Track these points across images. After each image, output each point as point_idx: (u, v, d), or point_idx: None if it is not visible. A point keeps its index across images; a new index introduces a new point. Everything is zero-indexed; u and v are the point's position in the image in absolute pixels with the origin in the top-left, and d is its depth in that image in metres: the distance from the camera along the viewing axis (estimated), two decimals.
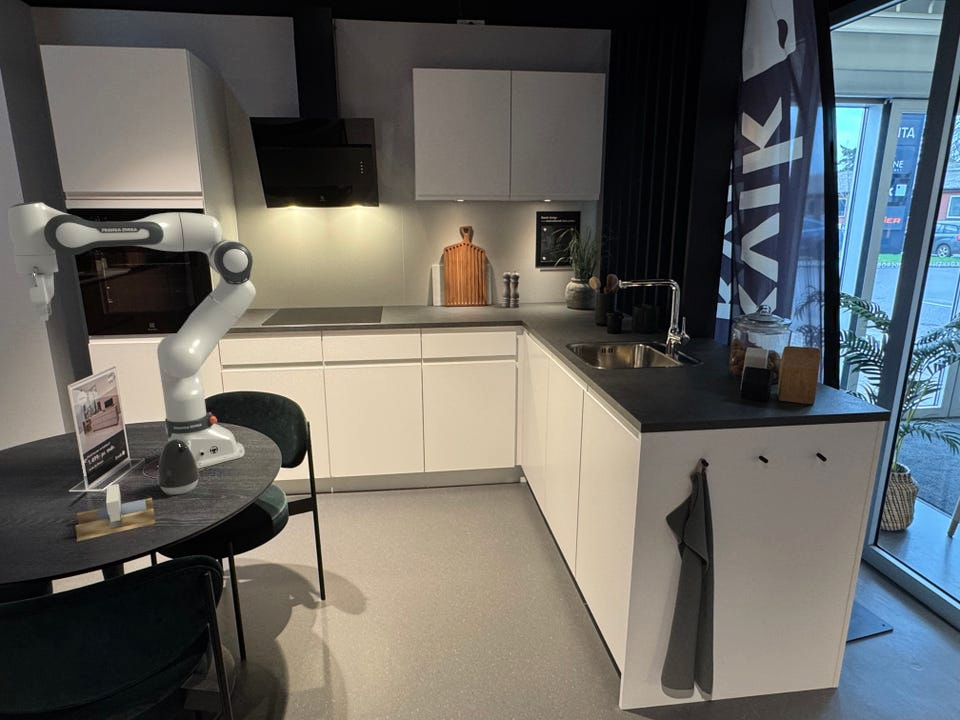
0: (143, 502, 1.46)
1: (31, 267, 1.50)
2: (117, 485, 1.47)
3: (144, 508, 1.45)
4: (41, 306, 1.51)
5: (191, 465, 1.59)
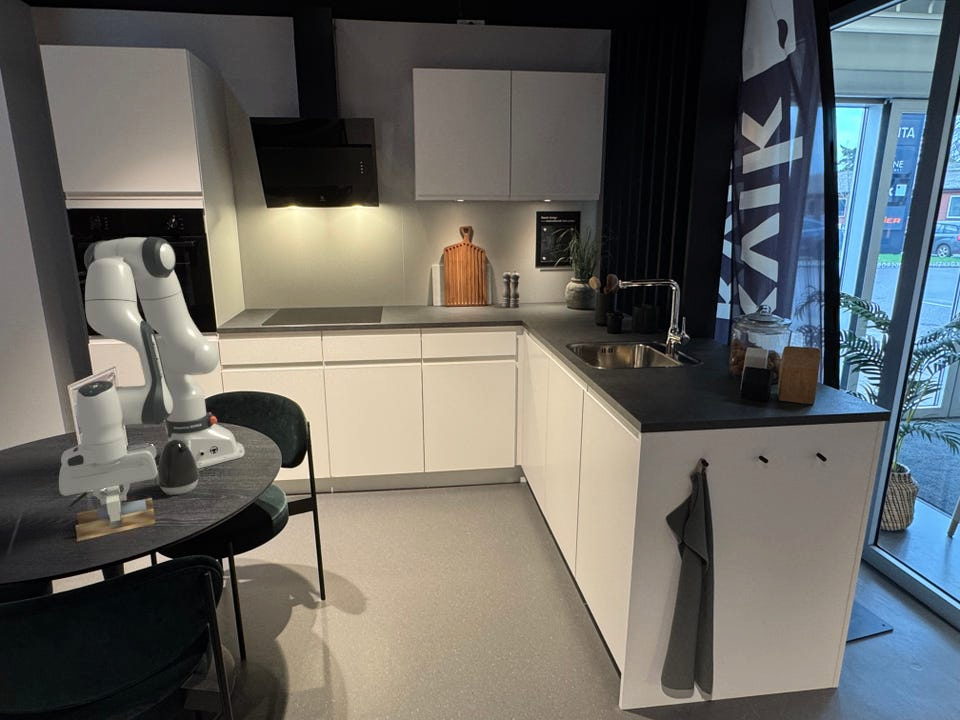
0: (143, 502, 1.46)
1: (126, 447, 1.42)
2: None
3: (144, 508, 1.45)
4: (129, 483, 1.44)
5: (191, 465, 1.59)
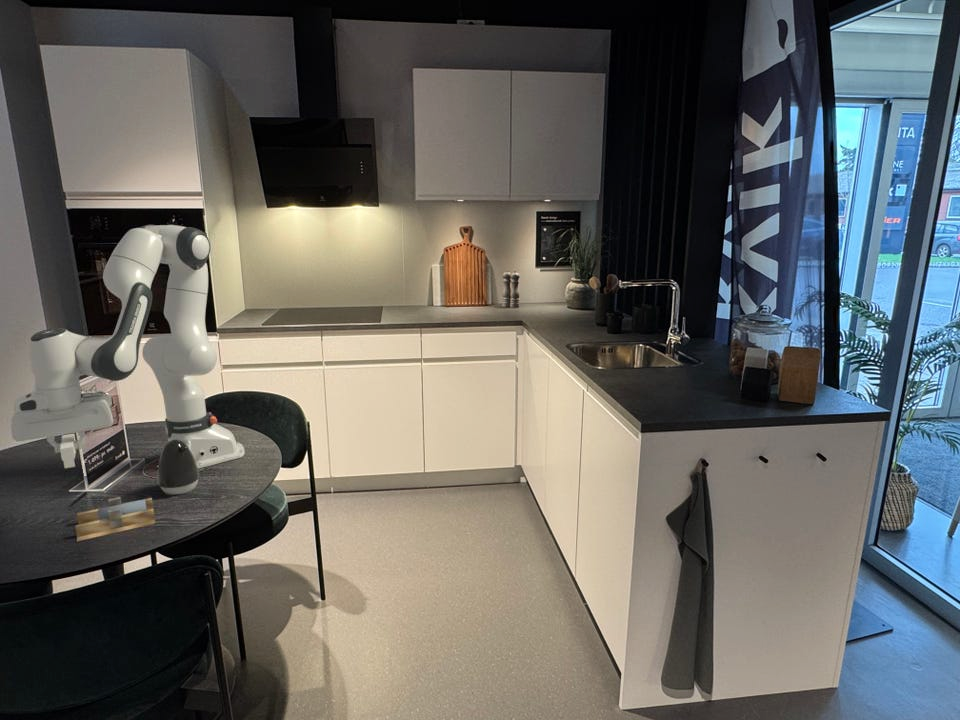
0: (143, 502, 1.46)
1: (80, 394, 1.43)
2: (73, 434, 1.48)
3: (144, 508, 1.45)
4: (84, 432, 1.45)
5: (191, 465, 1.59)
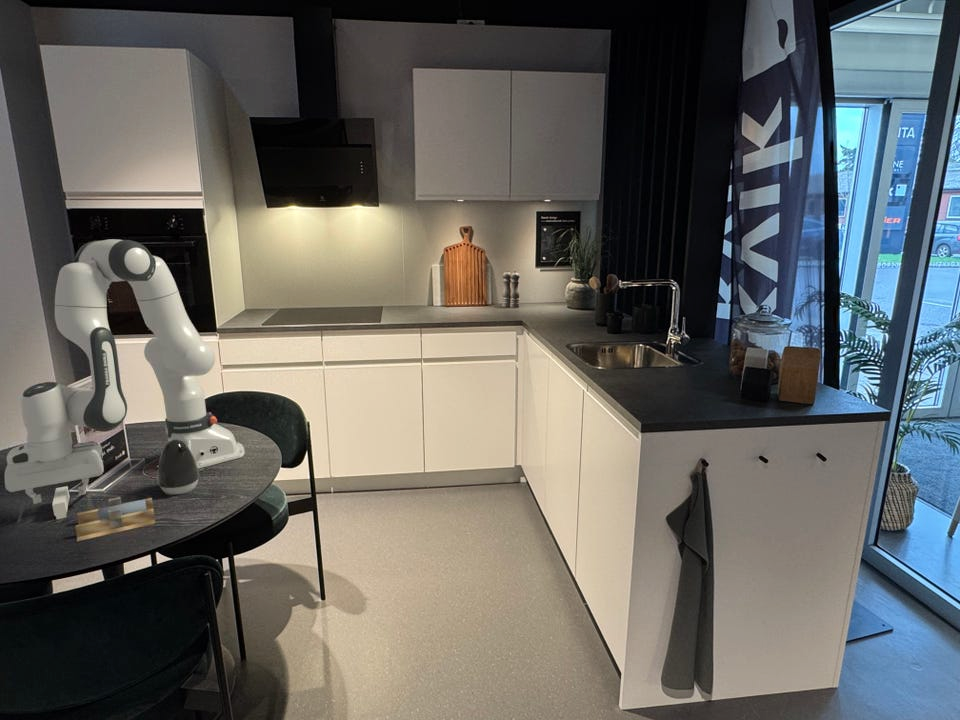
0: (143, 502, 1.46)
1: (71, 445, 1.48)
2: (66, 487, 1.53)
3: (144, 508, 1.45)
4: (88, 478, 1.52)
5: (191, 465, 1.59)
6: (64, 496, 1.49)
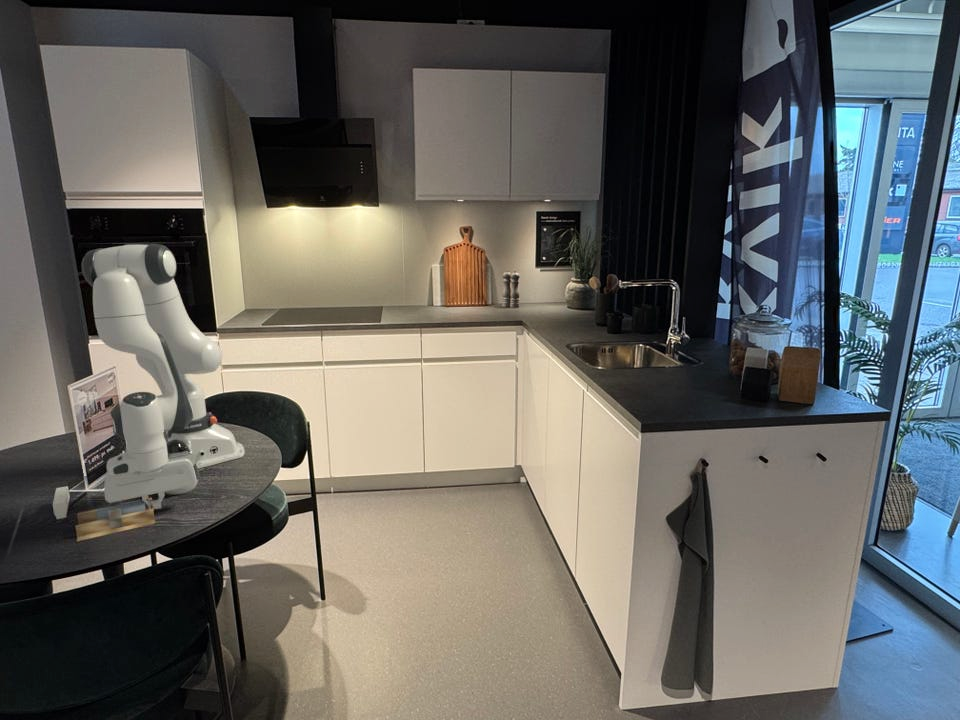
0: (142, 502, 1.46)
1: (167, 455, 1.47)
2: (66, 487, 1.53)
3: (143, 508, 1.45)
4: None
5: None
6: (64, 496, 1.49)
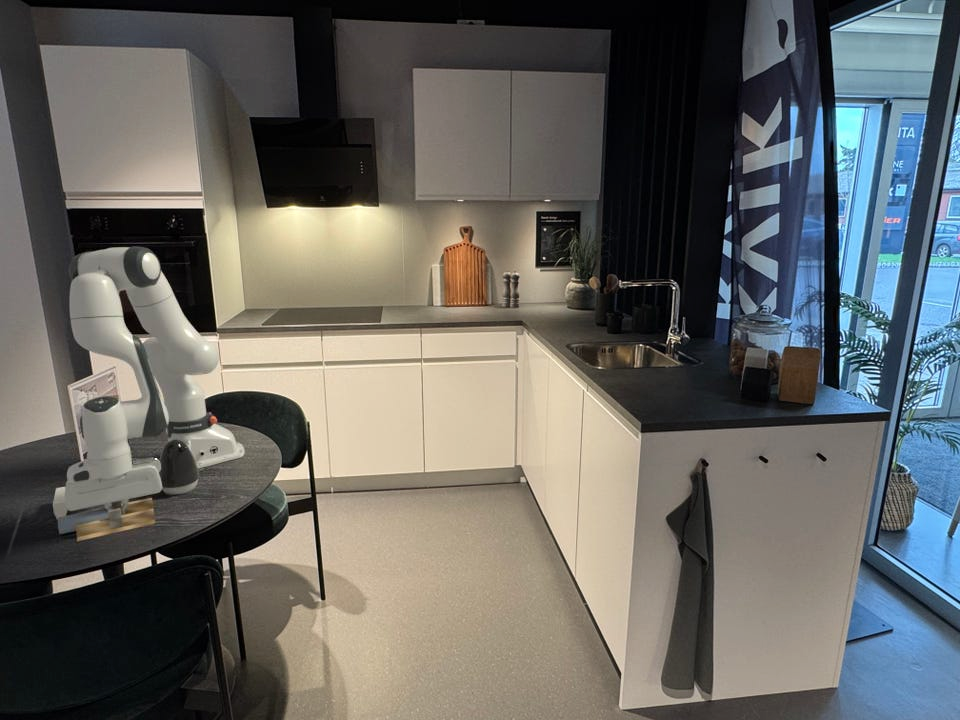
0: (106, 510, 1.42)
1: (131, 462, 1.43)
2: None
3: (106, 516, 1.41)
4: None
5: (191, 465, 1.59)
6: (64, 496, 1.49)
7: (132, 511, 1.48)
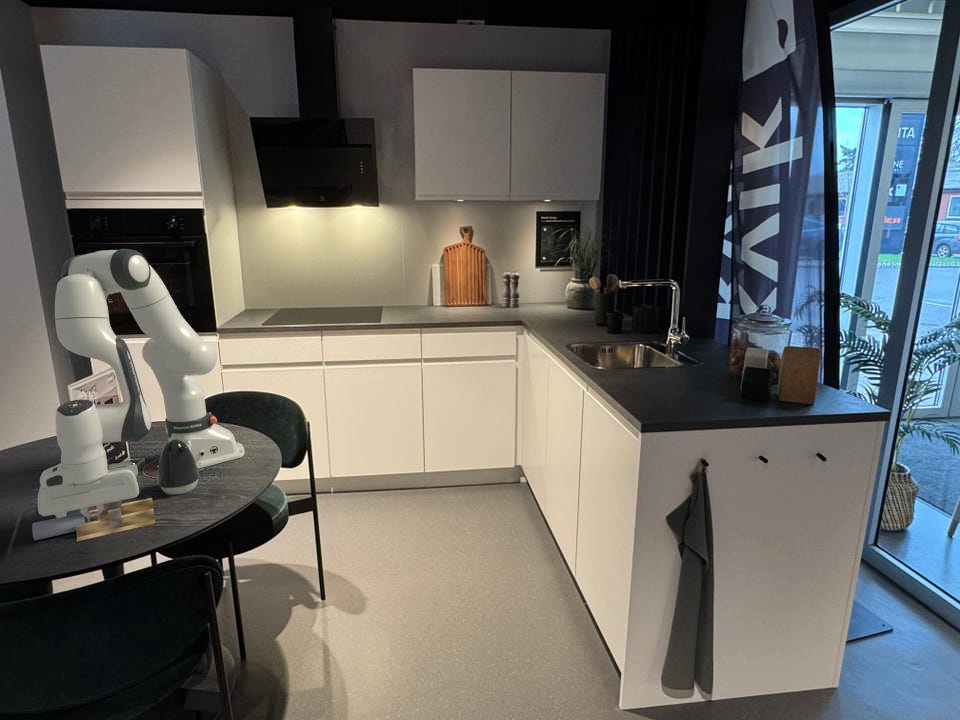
0: (82, 515, 1.39)
1: (107, 466, 1.40)
2: None
3: (82, 521, 1.39)
4: (103, 504, 1.42)
5: (191, 465, 1.59)
6: None
7: (132, 511, 1.48)
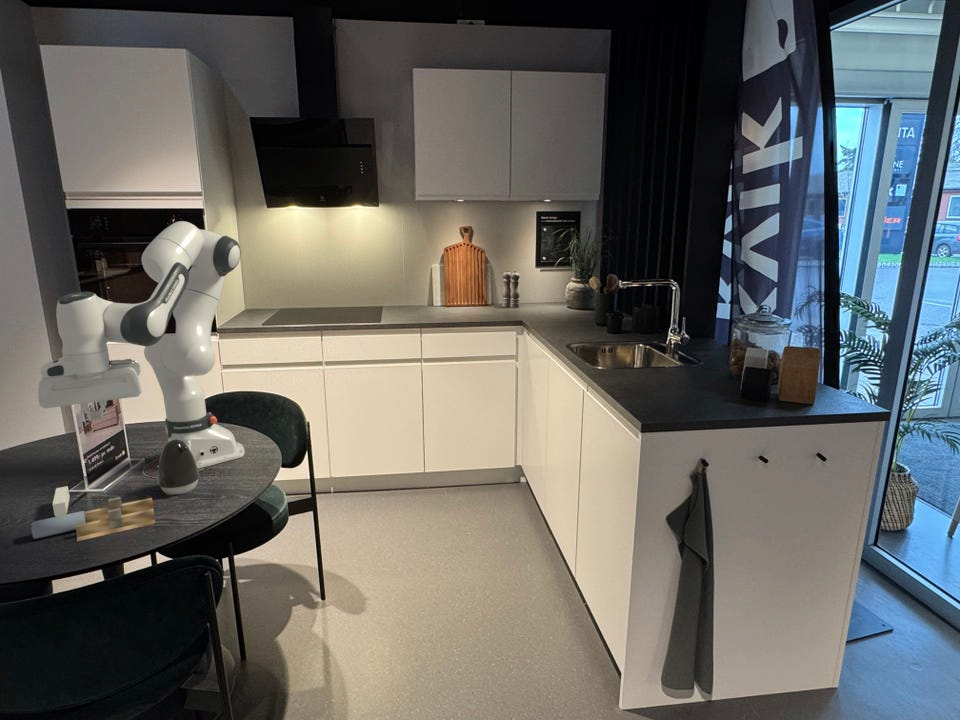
0: (81, 512, 1.41)
1: (108, 361, 1.38)
2: (66, 487, 1.53)
3: (81, 517, 1.40)
4: None
5: (191, 465, 1.59)
6: (64, 496, 1.49)
7: (132, 511, 1.48)
